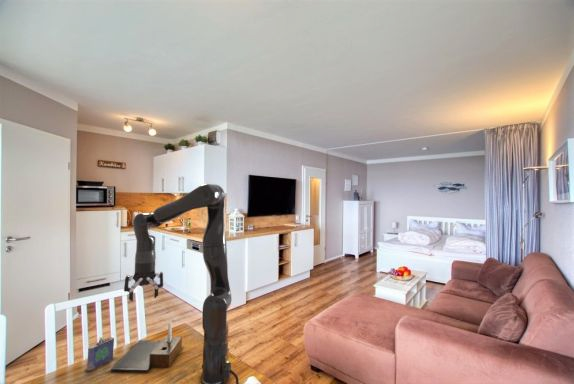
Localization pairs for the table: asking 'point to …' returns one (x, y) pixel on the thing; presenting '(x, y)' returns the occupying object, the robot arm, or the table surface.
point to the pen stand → (165, 352)
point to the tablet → (137, 358)
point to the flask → (100, 353)
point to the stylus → (169, 332)
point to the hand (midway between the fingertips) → (143, 299)
